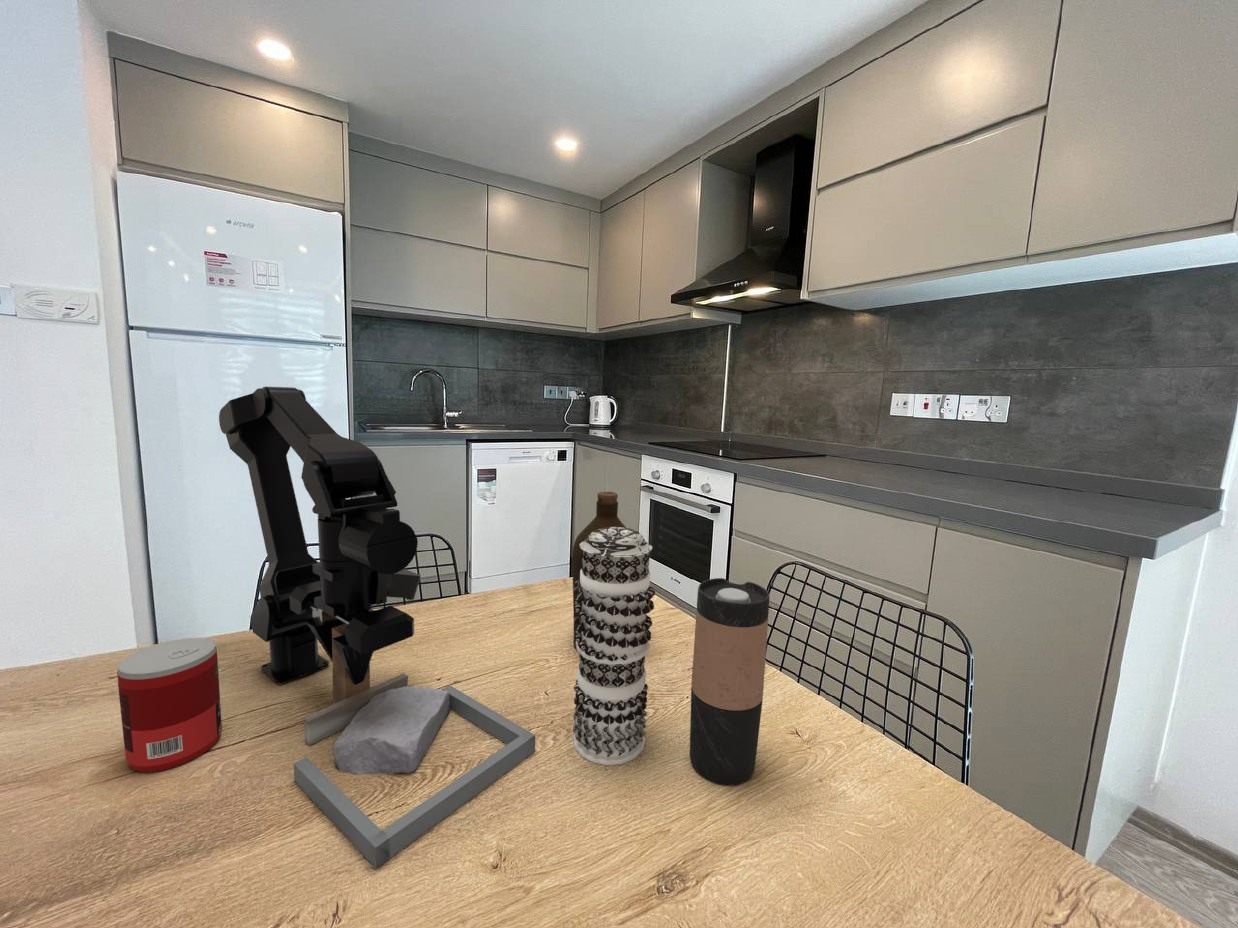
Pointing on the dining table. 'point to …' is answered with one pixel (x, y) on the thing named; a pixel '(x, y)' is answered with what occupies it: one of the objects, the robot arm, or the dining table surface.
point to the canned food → (169, 703)
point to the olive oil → (603, 519)
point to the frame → (433, 810)
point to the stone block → (392, 731)
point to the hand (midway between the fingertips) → (351, 677)
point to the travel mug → (728, 679)
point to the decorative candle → (612, 645)
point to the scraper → (345, 697)
